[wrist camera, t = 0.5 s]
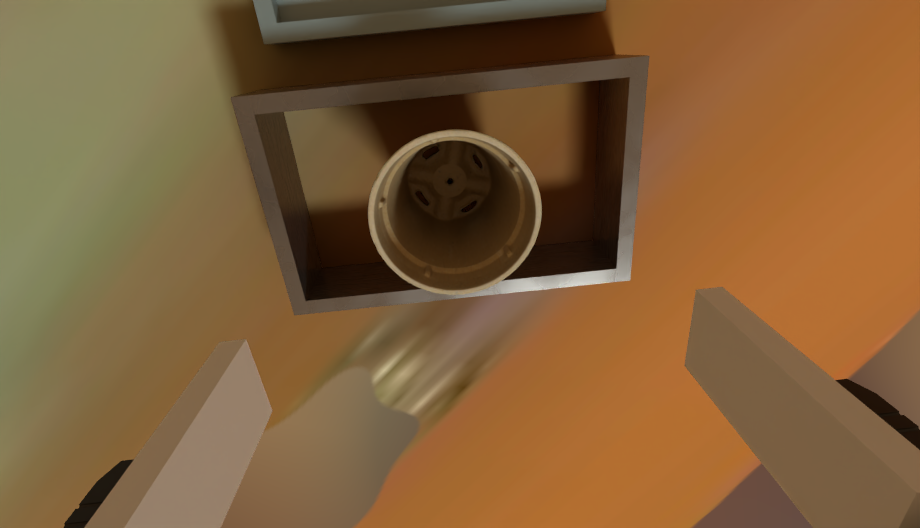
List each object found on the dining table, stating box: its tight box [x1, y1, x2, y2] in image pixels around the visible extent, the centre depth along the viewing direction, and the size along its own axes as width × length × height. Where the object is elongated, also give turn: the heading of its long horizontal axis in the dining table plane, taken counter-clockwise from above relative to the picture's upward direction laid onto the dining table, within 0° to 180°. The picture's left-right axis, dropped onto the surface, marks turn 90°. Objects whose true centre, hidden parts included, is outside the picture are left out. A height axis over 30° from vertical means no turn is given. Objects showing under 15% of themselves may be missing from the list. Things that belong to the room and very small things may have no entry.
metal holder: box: [231, 55, 649, 315], centre depth 30 cm, size 23×14×5 cm, turn 95°
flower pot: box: [368, 129, 542, 295], centre depth 28 cm, size 9×9×9 cm
